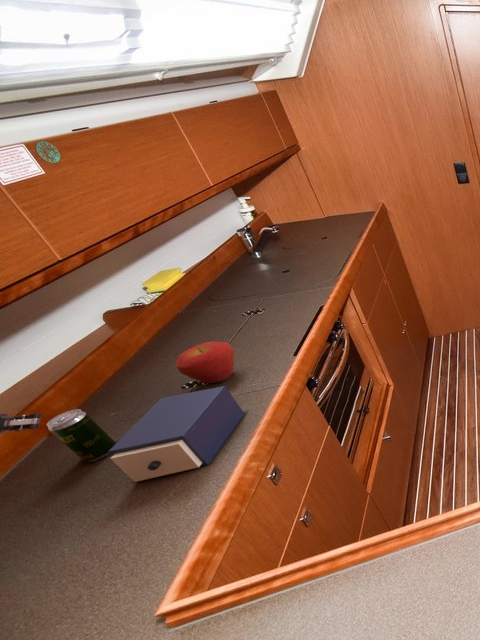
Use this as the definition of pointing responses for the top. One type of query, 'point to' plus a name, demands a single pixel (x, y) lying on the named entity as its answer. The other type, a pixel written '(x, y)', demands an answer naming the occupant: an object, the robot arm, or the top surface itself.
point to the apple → (207, 362)
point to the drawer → (156, 460)
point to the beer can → (81, 435)
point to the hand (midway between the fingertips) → (12, 424)
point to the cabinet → (186, 423)
